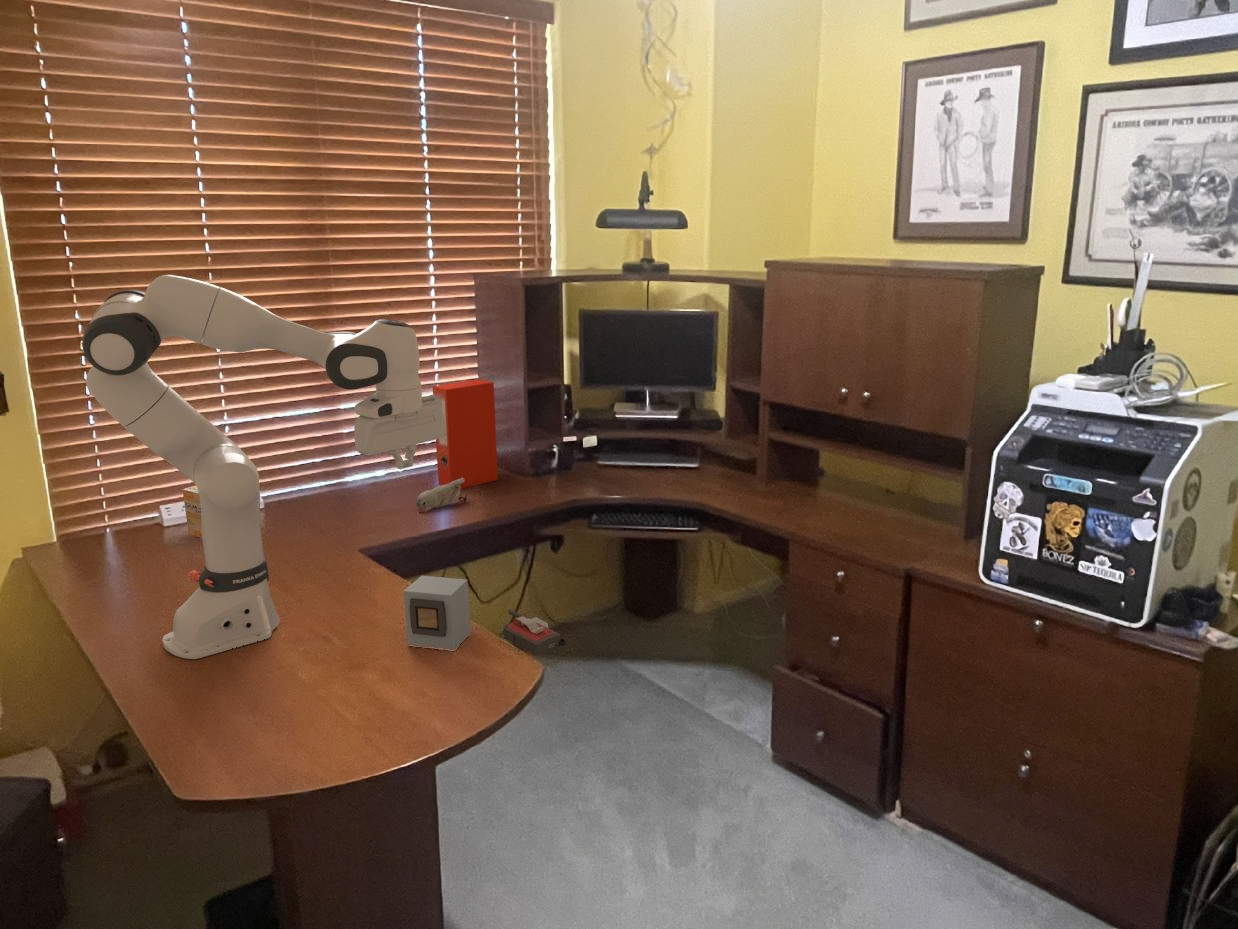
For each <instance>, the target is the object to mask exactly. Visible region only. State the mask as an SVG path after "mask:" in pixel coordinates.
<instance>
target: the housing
mask: <svg viewBox="0 0 1238 929" xmlns="http://www.w3.org/2000/svg"><path fill="white" fill-rule="evenodd" d="M468 582H469V581H468V579H465V578H463V579H462V578H451V577H442V576H433V575H420V576H419V577H418V578H417V579H416V580H414V581H413V582H412V583H411V584H410V585H409V586H408V587H406V588H405V589H404V590H403V598H404V599H403V600H404V602H403V603H404V612H405V614H404V615H405V623H406V638H407V646H408V645H414V646H420V647H434V648H443V649H449V650H455V649H456V648H457V647H458V646H459V645H460V643H462V641H464V639H466V638H467V636H469V637H470V635H471V634H472V633H471V620H470V619H471V618H470V615H471V614H470V600H469V586H468ZM419 607H430V608H438V620H439V627H438V628H432V627H422V626H419V618H418V608H419ZM469 634H470V635H469ZM466 640H467V639H466ZM464 642H465V641H464ZM462 644H463V643H462ZM460 646H461V645H460Z"/></svg>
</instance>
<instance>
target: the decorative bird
mask: <svg viewBox="0 0 1238 929" xmlns="http://www.w3.org/2000/svg"><path fill="white" fill-rule="evenodd" d="M464 481H465V480H464V478H461V479H458V480H455V481H453V482H451V483H449V484H445V485H441V486H439V485H438V486H436V487H434V488H432V489H430V490H429V489H427V490H424V491H423V492H421V493H420V494H419V495H418V496H417V499H416V502H415V503H416V504H415V505H416V510H417V512H418V513H421V512H423V511H424V510H425V509H426V508H428V507H430V508H433V509H439V508H443V507H445V506H447V505H449V504H451V503H453V502H455V501H456V500H458V501H461V502H463V503H464V504H465V503H466V504H467V498H468V497H467V494H466V495H465V497H463V496H462V493H463V492H460V491H461V489H460V484H462V483H463V482H464Z"/></svg>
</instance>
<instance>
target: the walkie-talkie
mask: <svg viewBox="0 0 1238 929" xmlns="http://www.w3.org/2000/svg"><path fill="white" fill-rule="evenodd" d="M507 612H508V614H509V615H511V616H512V617H515V618H514V619H513V621H512V622H510V623H507V624H505V625H504V626H503V640H505V641H508V642H510V643H512V644H513V645H515V646H518V647H519V648H521V649H523V650H525V651H528V652H529V653H531V654H533V655H535V656H541V655H544V654H546V653H549V652H551V651H554V650H556V649H559V648H561V646H566V645H567V640H566V639H565V638H563V637H561V634H560V633H559V632H556V631H554V630H553V629H551V628H549V624H548V622H546V621H544V620H542V619H541V618H539V617H537V616H535V617H532V618H531V617H528V616H526V615H523V614H521V613H520V612H517V611H515V610H513V609H508V611H507Z"/></svg>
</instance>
